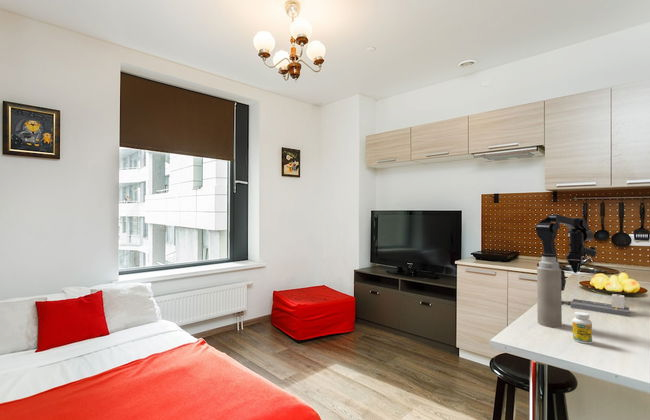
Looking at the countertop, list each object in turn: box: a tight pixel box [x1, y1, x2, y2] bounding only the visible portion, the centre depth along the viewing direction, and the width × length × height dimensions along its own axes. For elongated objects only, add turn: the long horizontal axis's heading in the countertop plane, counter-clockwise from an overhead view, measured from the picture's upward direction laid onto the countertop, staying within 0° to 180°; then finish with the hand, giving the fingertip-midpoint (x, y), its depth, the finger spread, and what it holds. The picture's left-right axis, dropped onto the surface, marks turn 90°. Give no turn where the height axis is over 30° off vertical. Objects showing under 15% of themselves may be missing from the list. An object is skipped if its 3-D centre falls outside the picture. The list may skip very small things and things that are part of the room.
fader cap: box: [611, 293, 625, 309], centre depth 148 cm, size 4×4×5 cm
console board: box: [569, 298, 630, 317], centre depth 152 cm, size 20×10×2 cm, turn 46°
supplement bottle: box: [572, 311, 593, 345], centre depth 116 cm, size 5×5×10 cm
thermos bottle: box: [536, 253, 563, 329], centre depth 133 cm, size 8×8×28 cm
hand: (576, 271), depth 174 cm, fingers open, 9 cm apart
